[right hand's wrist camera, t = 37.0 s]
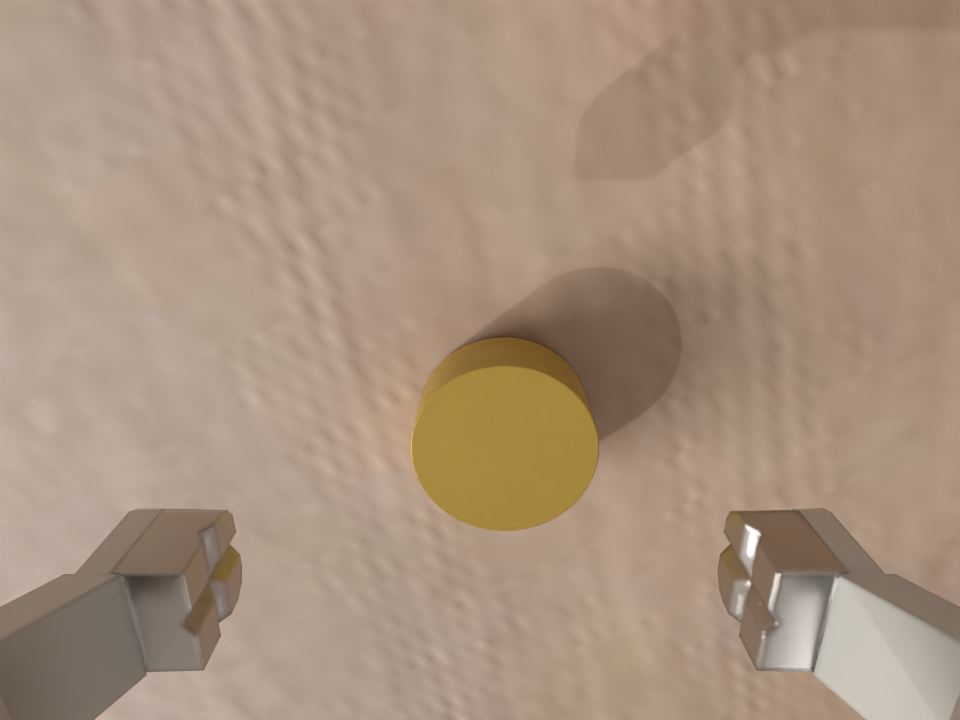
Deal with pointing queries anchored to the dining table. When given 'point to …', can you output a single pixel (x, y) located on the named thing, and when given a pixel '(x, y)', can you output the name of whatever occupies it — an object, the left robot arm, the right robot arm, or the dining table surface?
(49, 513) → the dining table surface
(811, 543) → the right robot arm
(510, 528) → the cap
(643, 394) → the dining table surface
